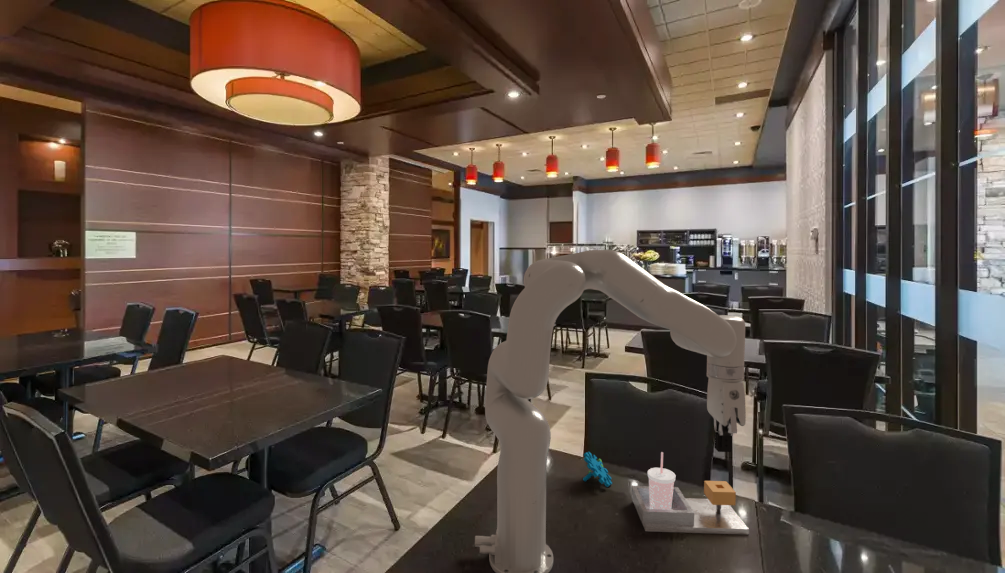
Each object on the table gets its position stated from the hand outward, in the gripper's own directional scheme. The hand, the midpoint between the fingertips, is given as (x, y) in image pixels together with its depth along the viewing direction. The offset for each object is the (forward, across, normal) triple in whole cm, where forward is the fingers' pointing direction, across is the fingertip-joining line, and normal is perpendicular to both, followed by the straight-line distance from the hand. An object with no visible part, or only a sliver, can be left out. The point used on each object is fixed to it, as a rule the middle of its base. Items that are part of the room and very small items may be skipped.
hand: (723, 450), depth 105 cm
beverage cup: (+15, 0, +14) cm, 20 cm away
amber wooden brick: (+11, 0, +1) cm, 11 cm away
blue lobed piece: (+16, +15, +26) cm, 34 cm away
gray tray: (+16, 0, +8) cm, 18 cm away
